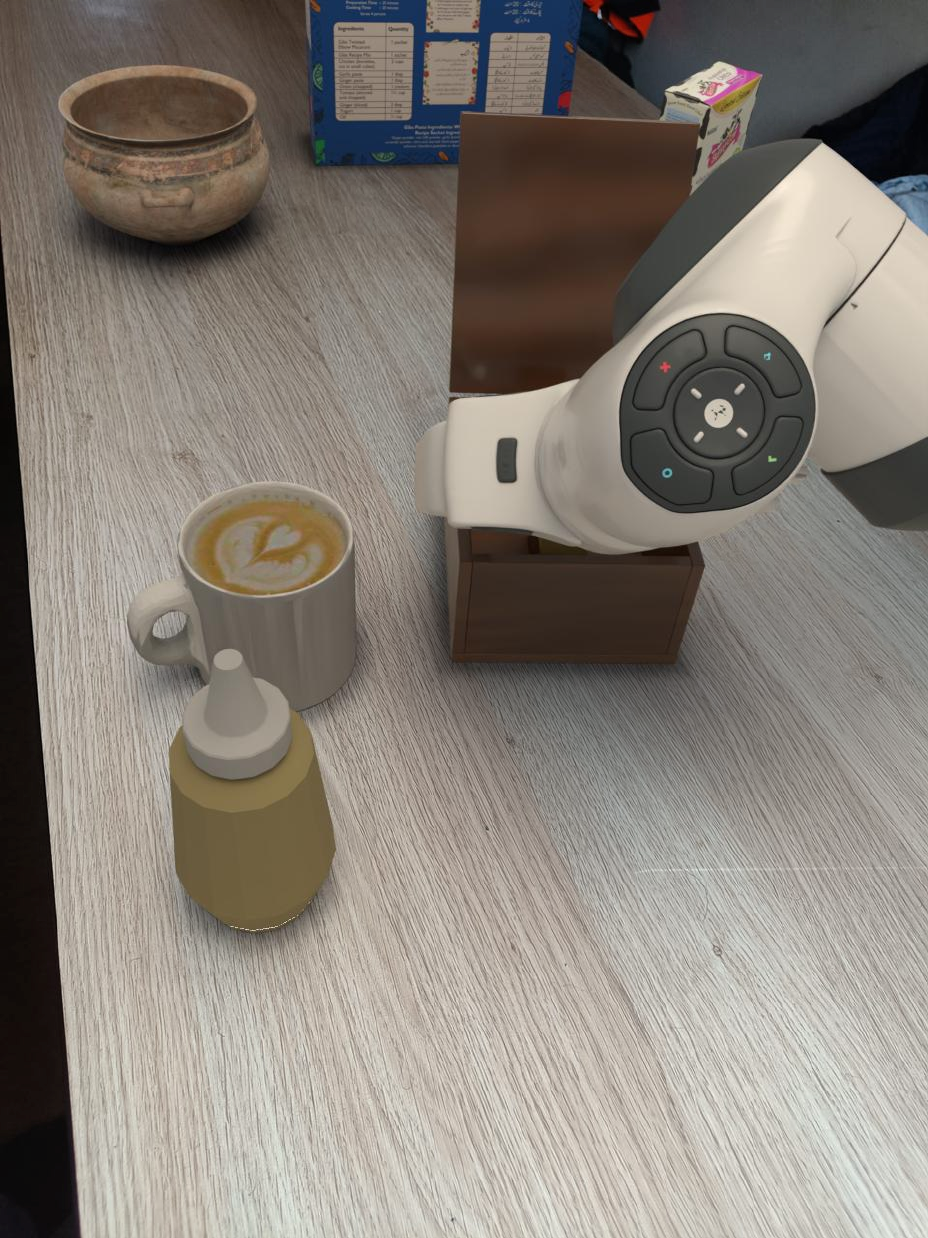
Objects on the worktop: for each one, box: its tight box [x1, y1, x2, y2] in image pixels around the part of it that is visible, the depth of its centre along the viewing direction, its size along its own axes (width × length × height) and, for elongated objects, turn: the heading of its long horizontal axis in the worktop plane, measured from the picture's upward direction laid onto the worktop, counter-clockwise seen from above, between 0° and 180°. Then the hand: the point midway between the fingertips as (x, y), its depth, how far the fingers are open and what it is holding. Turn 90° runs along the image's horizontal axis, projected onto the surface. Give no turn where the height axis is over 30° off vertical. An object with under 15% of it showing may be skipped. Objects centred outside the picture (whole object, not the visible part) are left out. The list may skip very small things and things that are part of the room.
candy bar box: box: [658, 61, 763, 195], centre depth 103 cm, size 11×5×16 cm, turn 144°
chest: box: [443, 396, 706, 664], centre depth 71 cm, size 17×15×9 cm
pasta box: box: [304, 0, 584, 167], centre depth 112 cm, size 28×8×28 cm, turn 100°
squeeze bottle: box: [168, 649, 337, 934], centre depth 50 cm, size 8×8×18 cm
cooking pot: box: [57, 64, 270, 247], centre depth 101 cm, size 25×19×12 cm
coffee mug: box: [126, 480, 357, 713], centre depth 64 cm, size 13×10×10 cm
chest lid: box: [448, 111, 700, 395], centre depth 71 cm, size 17×15×4 cm
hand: (571, 490), depth 67 cm, fingers open, 8 cm apart
